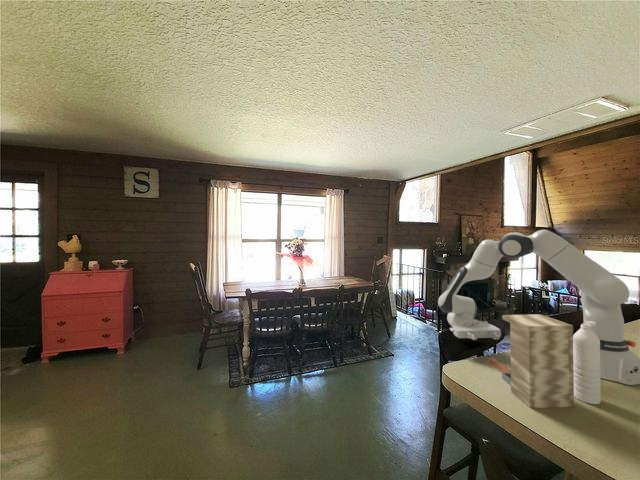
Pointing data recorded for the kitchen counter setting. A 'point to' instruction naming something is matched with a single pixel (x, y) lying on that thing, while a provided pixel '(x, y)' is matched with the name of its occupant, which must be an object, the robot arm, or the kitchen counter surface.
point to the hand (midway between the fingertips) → (486, 338)
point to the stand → (541, 360)
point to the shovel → (501, 370)
